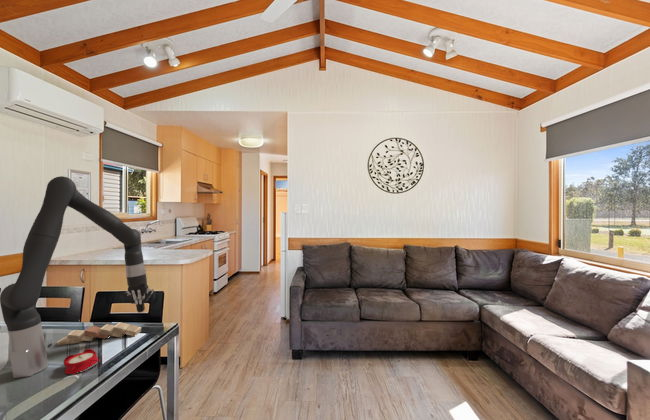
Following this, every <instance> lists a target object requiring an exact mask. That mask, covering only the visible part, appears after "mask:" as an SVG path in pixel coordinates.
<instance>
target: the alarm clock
mask: <svg viewBox="0 0 650 420" xmlns="http://www.w3.org/2000/svg"><path fill="white" fill-rule="evenodd" d="M98 359H99V358H98V356H97V352H96V351H94V349H92V348H87V349H84V351H82V352H80V353H79V352H78V353H77V354H70V355H68V356H67V357H65V358H64V360H63V365H64V367H65V370H64V374H65V375H67V374H74V375H76V374H75V373H77V372H80V371H83V370H85V369H87V368H88V367H90V366H92V365H93V364H95V363H96V362H97V361H98Z"/></svg>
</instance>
